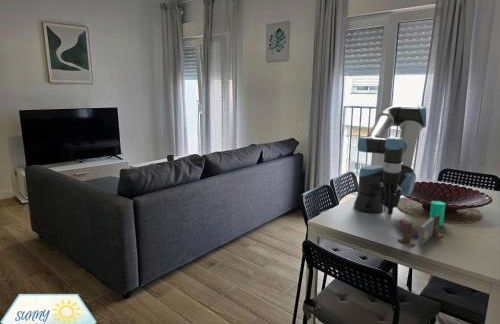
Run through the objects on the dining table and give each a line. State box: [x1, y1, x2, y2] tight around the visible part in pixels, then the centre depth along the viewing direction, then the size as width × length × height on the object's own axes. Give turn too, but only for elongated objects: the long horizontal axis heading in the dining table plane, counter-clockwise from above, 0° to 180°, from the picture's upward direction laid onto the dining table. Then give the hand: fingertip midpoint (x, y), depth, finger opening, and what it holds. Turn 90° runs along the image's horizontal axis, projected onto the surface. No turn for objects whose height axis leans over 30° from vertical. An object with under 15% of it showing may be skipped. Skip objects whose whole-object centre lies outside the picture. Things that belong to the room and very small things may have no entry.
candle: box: [428, 199, 446, 227], centre depth 159 cm, size 6×6×12 cm
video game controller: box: [397, 218, 420, 238], centre depth 150 cm, size 10×5×7 cm, turn 0°
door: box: [418, 217, 435, 247], centre depth 141 cm, size 2×14×8 cm, turn 135°
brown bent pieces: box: [397, 215, 444, 248], centre depth 143 cm, size 6×21×9 cm, turn 116°
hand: (387, 220), depth 158 cm, fingers closed
